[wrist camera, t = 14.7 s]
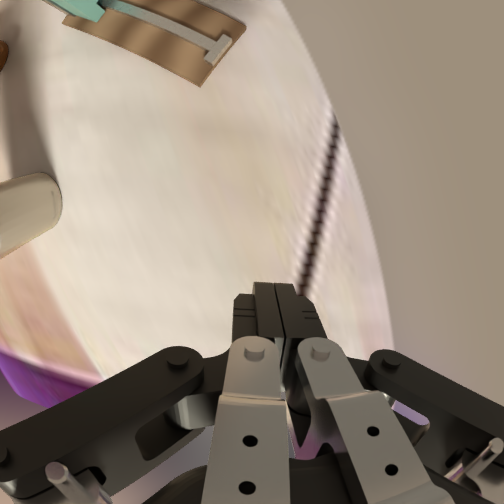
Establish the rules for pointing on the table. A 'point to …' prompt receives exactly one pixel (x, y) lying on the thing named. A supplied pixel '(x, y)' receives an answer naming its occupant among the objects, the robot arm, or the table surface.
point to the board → (164, 34)
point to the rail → (164, 27)
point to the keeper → (82, 8)
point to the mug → (3, 53)
